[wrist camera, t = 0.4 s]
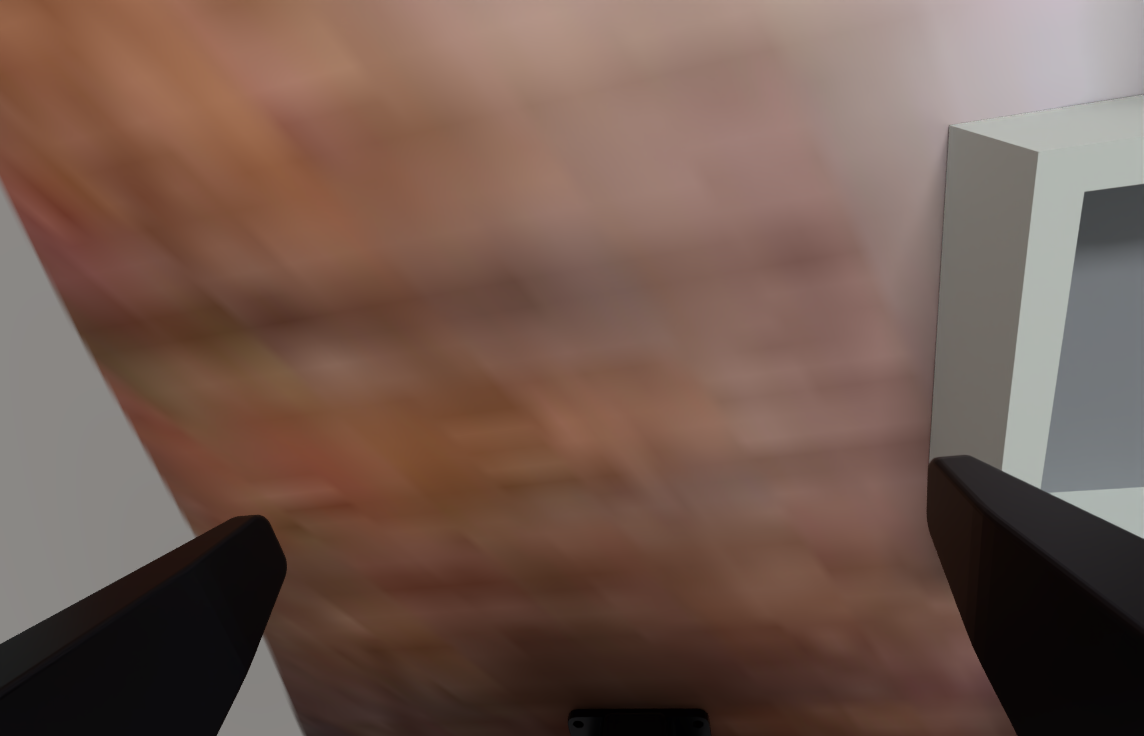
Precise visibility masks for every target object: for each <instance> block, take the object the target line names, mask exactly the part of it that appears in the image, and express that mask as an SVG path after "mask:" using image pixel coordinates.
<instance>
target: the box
mask: <svg viewBox="0 0 1144 736" xmlns="http://www.w3.org/2000/svg"><path fill="white" fill-rule="evenodd" d="M955 455H970V456H972V457H975V458H977V459H979V460H981V461H983V462H985V463H987V464H989V465H991V466H993V467H995V468H998V469H1000V470H1002V471H1004V472H1006V473H1008V474H1010V475H1012V476H1014V477H1016V478H1018V479H1020V480H1023V481H1025V482H1027V483H1029V484H1031V485H1033V486H1035V487H1037V488H1039V489H1041V490H1043V491H1045V492H1048V493H1050V494H1052V495H1054V496H1056V497H1058V498H1060V499H1062V500H1064V501H1066V502H1068V503H1070V504H1072V505H1075V506H1077V507H1079V508H1081V509H1083V510H1085V511H1087V512H1089V513H1091V514H1093V515H1095V516H1097V517H1100V518H1102V519H1104V520H1106V521H1108V522H1110V523H1112V524H1114V525H1116V526H1118V527H1120V528H1122V529H1125V530H1127V531H1129V532H1131V533H1133V534H1135V535H1137V536H1139V537H1141V538H1143V539H1144V95H1138V96H1131V97H1125V98H1119V99H1112V100H1106V101H1100V102H1093V103H1087V104H1081V105H1074V106H1068V107H1062V108H1055V109H1049V110H1043V111H1036V112H1030V113H1024V114H1017V115H1011V116H1005V117H998V118H992V119H986V120H979V121H973V122H967V123H960V124H954V125H949V140H948V157H947V173H946V190H945V206H944V223H943V239H942V256H941V273H940V289H939V306H938V322H937V339H936V355H935V372H934V388H933V405H932V421H931V438H930V455H929V463H930V461H931V460H932V459H933V458H935V457H943V456H955Z"/></svg>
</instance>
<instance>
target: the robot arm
mask: <svg viewBox="0 0 1144 736" xmlns="http://www.w3.org/2000/svg"><path fill="white" fill-rule="evenodd" d="M927 522H928V527H929V531H930V534H931V537H932V540H933V543H934V545H935V548H936V551H937V553H938V556H939V559H940V561H941V564H942V567H943V569H944V572H945V575H946V578H947V580H948V583H949V586H950V588H951V591H952V594H953V596H954V599H955V602H956V604H957V607H958V610H959V612H960V615H961V618H962V620H963V623H964V626H965V628H966V631H967V633H968V636H969V638H970V641H971V643H972V646H973V648H974V650H975V653H976V655H977V657H978V659H979V661H980V663H981V665H982V667H983V669H984V671H985V673H986V675H987V677H988V679H989V681H990V683H991V685H992V687H993V689H994V691H995V693H996V695H997V696H998V698H999V700H1000V702H1001V704H1002V706H1003V708H1004V710H1005V712H1006V714H1007V716H1008V718H1009V720H1010V722H1011V724H1012V726H1013V728H1014V730H1015V732H1016V733H1017V735H1018V736H1144V539H1143V538H1141V537H1139V536H1137V535H1135V534H1133V533H1131V532H1129V531H1127V530H1125V529H1122V528H1120V527H1118V526H1116V525H1114V524H1112V523H1110V522H1108V521H1106V520H1104V519H1102V518H1100V517H1097V516H1095V515H1093V514H1091V513H1089V512H1087V511H1085V510H1083V509H1081V508H1079V507H1077V506H1075V505H1072V504H1070V503H1068V502H1066V501H1064V500H1062V499H1060V498H1058V497H1056V496H1054V495H1052V494H1050V493H1048V492H1045V491H1043V490H1041V489H1039V488H1037V487H1035V486H1033V485H1031V484H1029V483H1027V482H1025V481H1023V480H1020V479H1018V478H1016V477H1014V476H1012V475H1010V474H1008V473H1006V472H1004V471H1002V470H1000V469H998V468H995V467H993V466H991V465H989V464H987V463H985V462H983V461H981V460H979V459H977V458H975V457H972V456H970V455H955V456H943V457H935V458H933V459H932V460H931V461H930V463H929V467H928V484H927ZM286 571H287V562H286V558H285V555H284V553H283V551H282V548H281V546H280V544H279V542H278V540H277V537H276V535H275V533H274V531H273V529H272V527H271V524H270V522H269V521H268V520H267V519H266V518H265V517H264V516H261V515H248V516H237V517H234V518H231V519H230V520H228V521H226V522H224V523H222V524H220V525H218V526H217V527H215V528H213V529H211V530H209V531H207V532H206V533H204V534H202V535H200V536H198V537H196V538H195V539H193V540H191V541H189V542H187V543H185V544H184V545H182V546H180V547H178V548H176V549H175V550H173V551H171V552H169V553H167V554H165V555H163V556H162V557H160V558H158V559H156V560H154V561H152V562H150V563H149V564H147V565H145V566H143V567H141V568H139V569H138V570H136V571H134V572H132V573H130V574H128V575H127V576H125V577H123V578H121V579H119V580H117V581H115V582H114V583H112V584H110V585H108V586H106V587H104V588H103V589H101V590H99V591H97V592H95V593H93V594H92V595H90V596H88V597H86V598H84V599H82V600H80V601H79V602H77V603H75V604H73V605H71V606H70V607H68V608H66V609H64V610H62V611H60V612H59V613H57V614H55V615H53V616H51V617H50V618H47V619H46V620H44V621H42V622H40V623H38V624H36V625H35V626H33V627H31V628H29V629H27V630H25V631H23V632H22V633H20V634H18V635H16V636H14V637H12V638H11V639H9V640H7V641H5V642H3V643H2V644H0V736H217V734H218V731H219V730H220V728H221V726H222V724H223V722H224V720H225V718H226V716H227V714H228V712H229V710H230V708H231V706H232V704H233V701H234V699H235V698H236V696H237V693H238V692H239V690H240V687H241V685H242V683H243V681H244V679H245V677H246V675H247V672H248V670H249V668H250V665H251V663H252V660H253V658H254V656H255V653H256V651H257V648H258V645H259V642H260V640H261V638H262V635H263V633H264V630H265V628H266V625H267V622H268V620H269V617H270V615H271V612H272V610H273V607H274V604H275V602H276V599H277V597H278V594H279V592H280V589H281V586H282V584H283V581H284V579H285V576H286ZM568 726H569V730H570V734H571V736H711V730H710V722H709V716H708V713H707V712H705V711H704V710H701V709H577V710H573V711H571V712H570V713H569V719H568Z"/></svg>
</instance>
